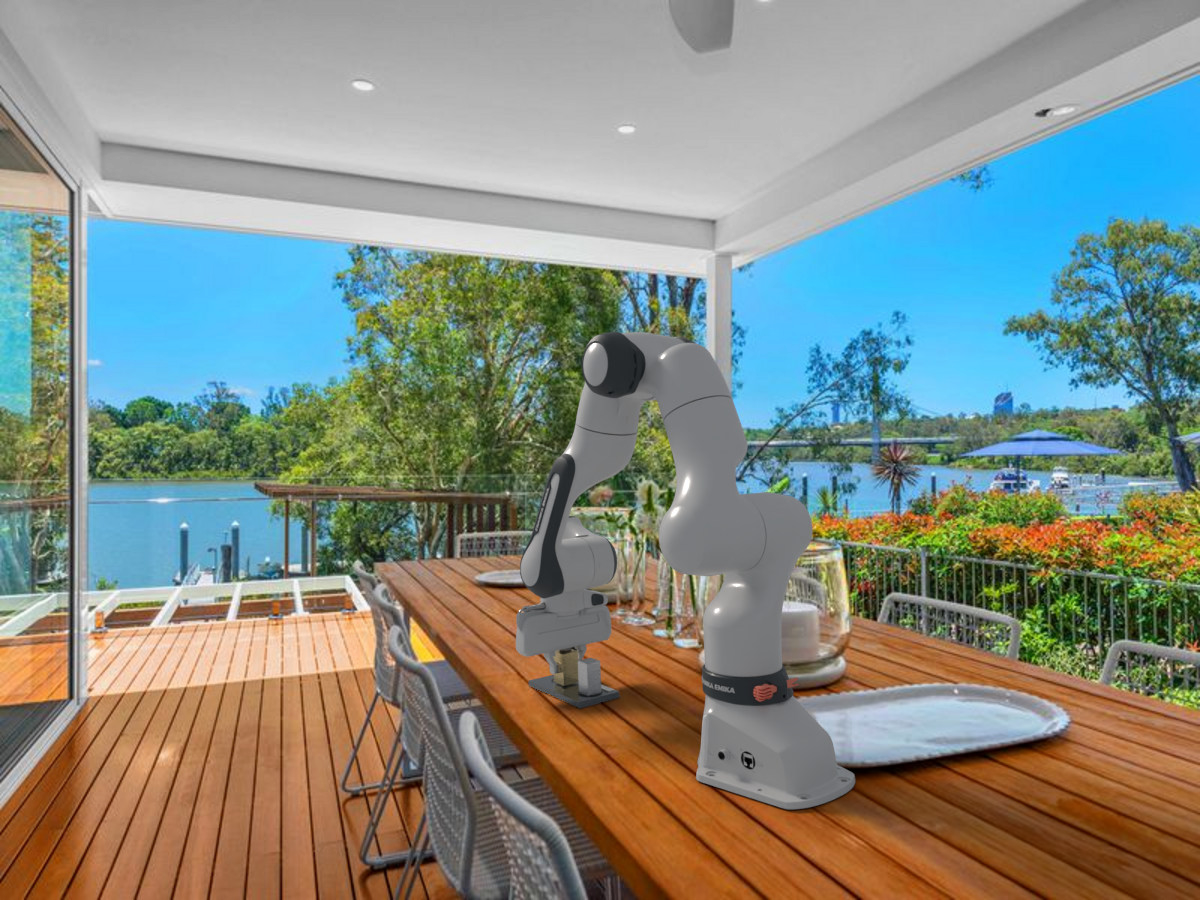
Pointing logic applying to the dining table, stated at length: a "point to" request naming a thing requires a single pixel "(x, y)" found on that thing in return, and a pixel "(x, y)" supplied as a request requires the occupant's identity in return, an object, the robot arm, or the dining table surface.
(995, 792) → the dining table surface
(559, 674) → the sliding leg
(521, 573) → the robot arm
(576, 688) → the bolt plate
